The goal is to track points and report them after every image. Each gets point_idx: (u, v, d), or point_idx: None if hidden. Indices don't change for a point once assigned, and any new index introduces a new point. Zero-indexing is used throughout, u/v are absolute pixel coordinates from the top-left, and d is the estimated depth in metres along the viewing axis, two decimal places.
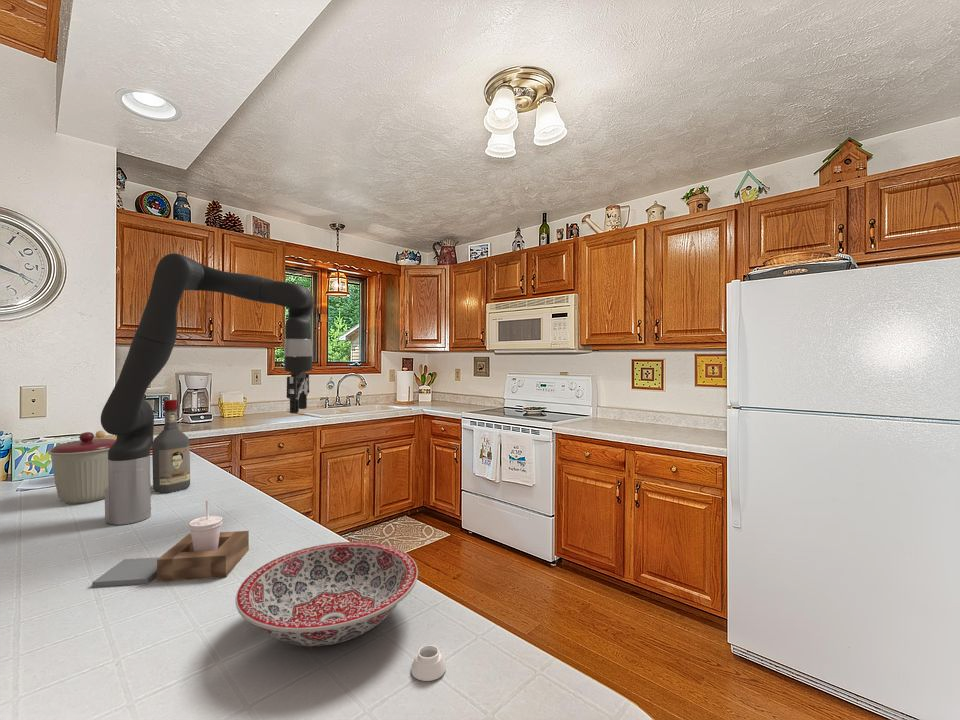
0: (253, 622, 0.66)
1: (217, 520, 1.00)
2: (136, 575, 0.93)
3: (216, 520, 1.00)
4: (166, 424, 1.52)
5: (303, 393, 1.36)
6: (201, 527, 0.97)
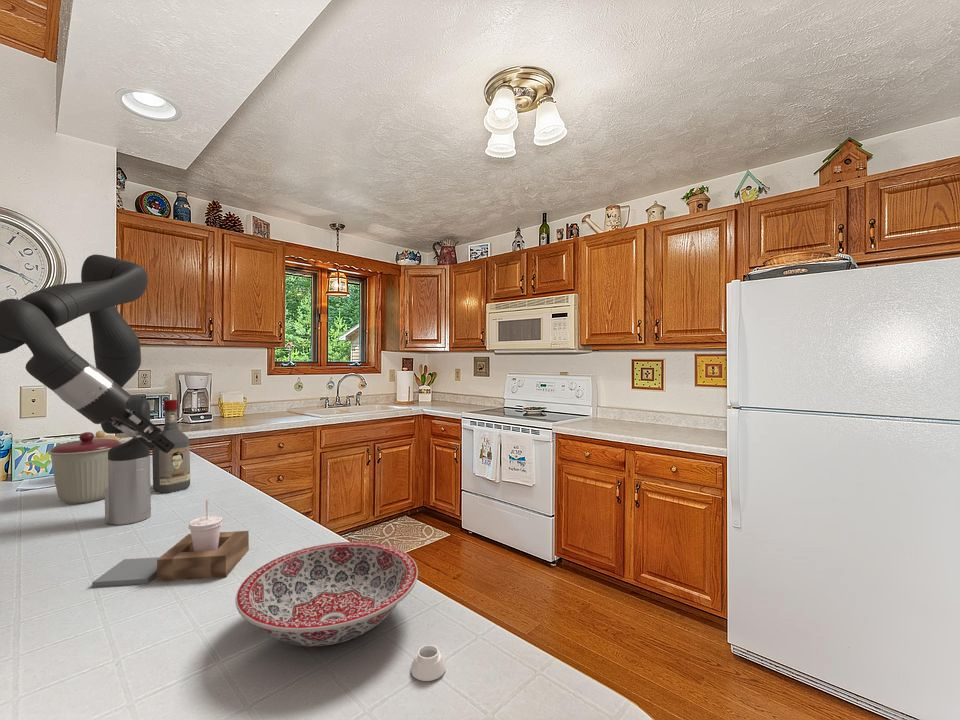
0: (253, 622, 0.66)
1: (217, 520, 1.00)
2: (136, 575, 0.93)
3: (216, 520, 1.00)
4: (166, 424, 1.52)
5: None
6: (201, 527, 0.97)
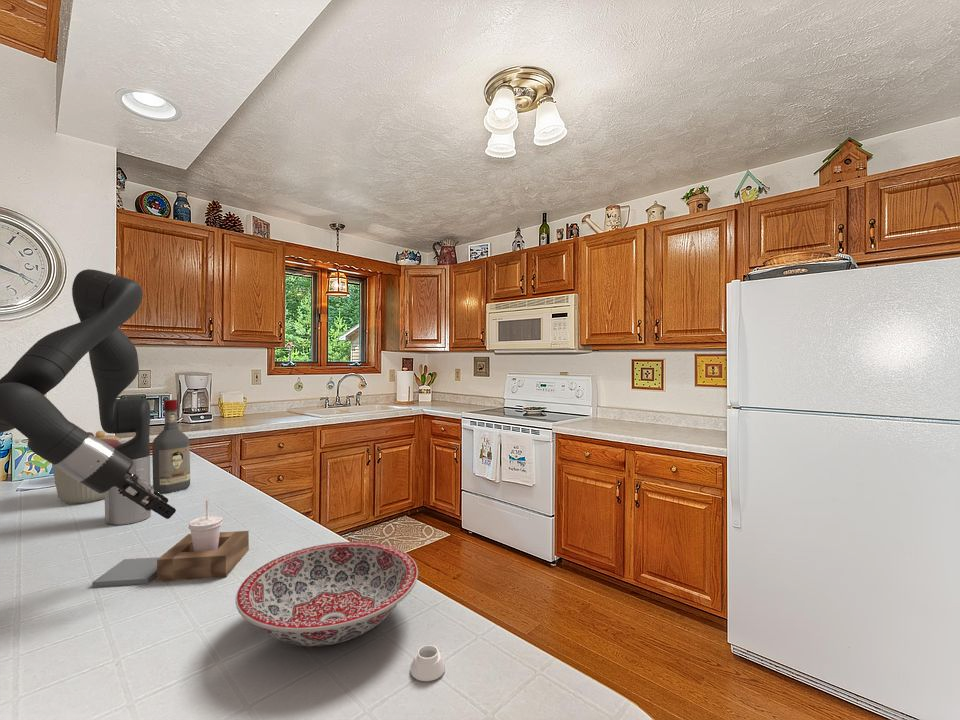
0: (253, 622, 0.66)
1: (217, 520, 1.00)
2: (136, 575, 0.93)
3: (216, 520, 1.00)
4: (166, 424, 1.52)
5: None
6: (201, 527, 0.97)
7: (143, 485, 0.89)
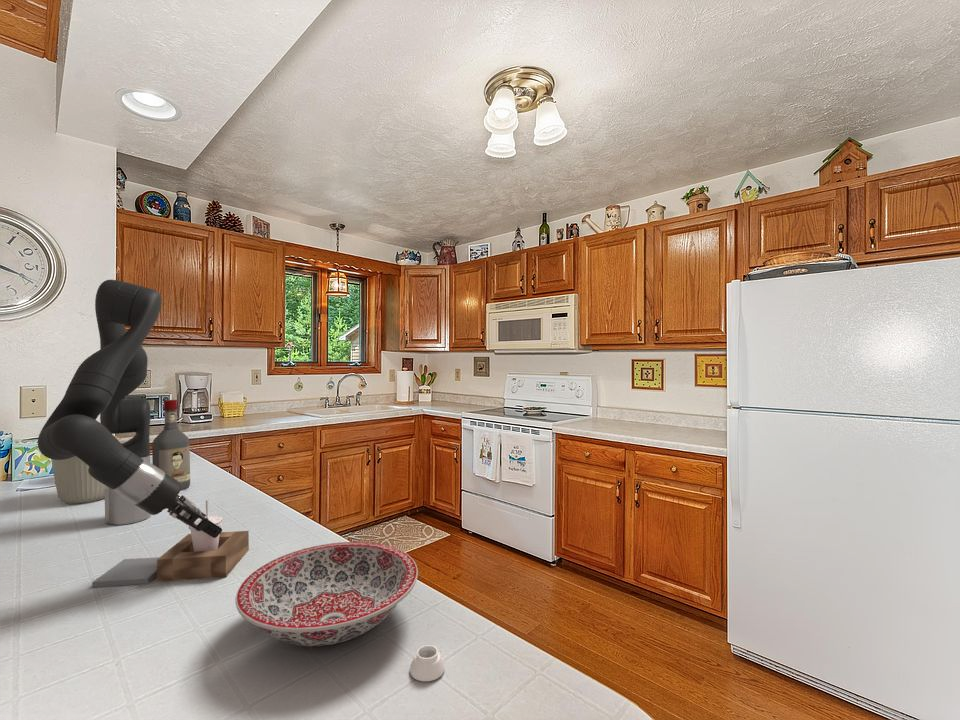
0: (253, 622, 0.66)
1: (217, 520, 1.00)
2: (136, 575, 0.93)
3: (216, 520, 1.00)
4: (166, 424, 1.52)
5: None
6: None
7: (192, 507, 0.95)
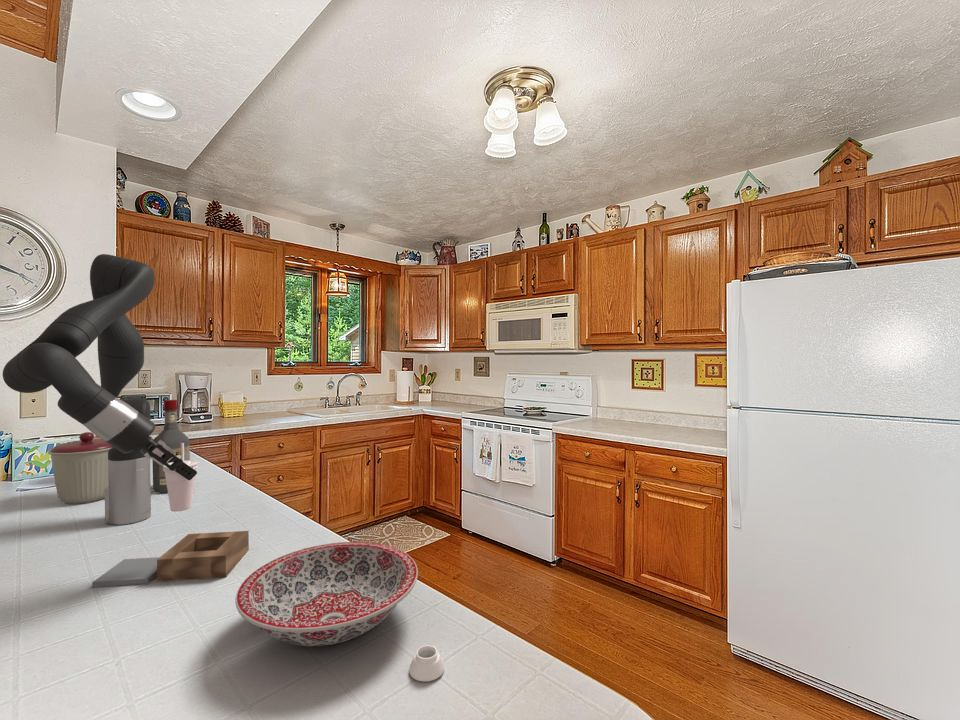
0: (253, 622, 0.66)
1: (192, 463, 0.98)
2: (136, 575, 0.93)
3: (191, 463, 0.98)
4: (166, 424, 1.52)
5: None
6: None
7: (166, 447, 0.94)
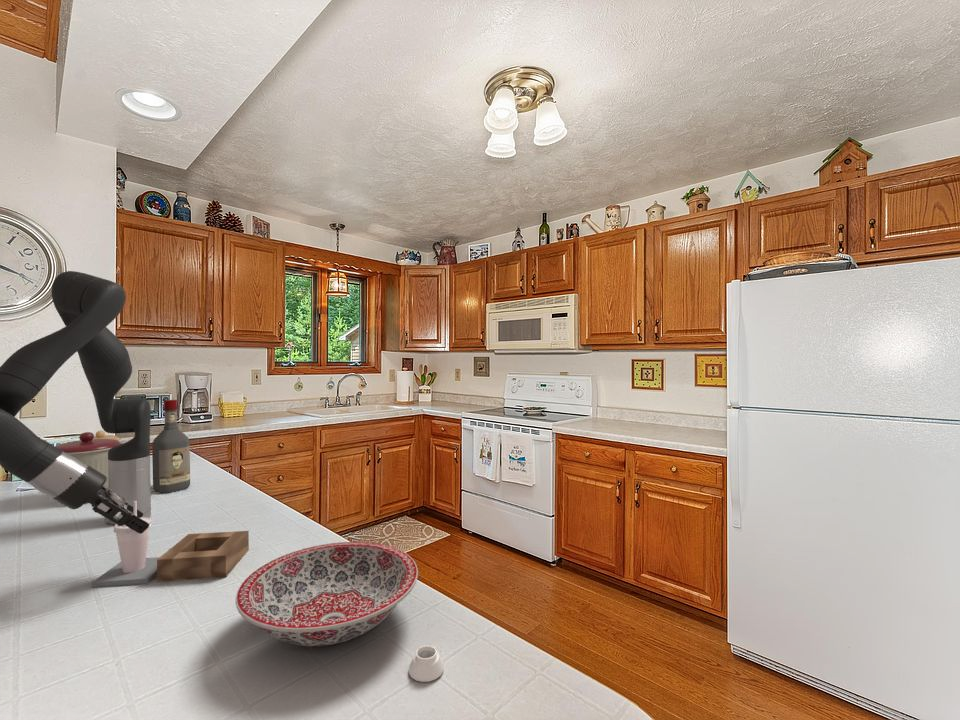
0: (253, 622, 0.66)
1: None
2: (136, 575, 0.93)
3: None
4: (166, 424, 1.52)
5: None
6: (126, 530, 0.93)
7: (116, 501, 0.91)
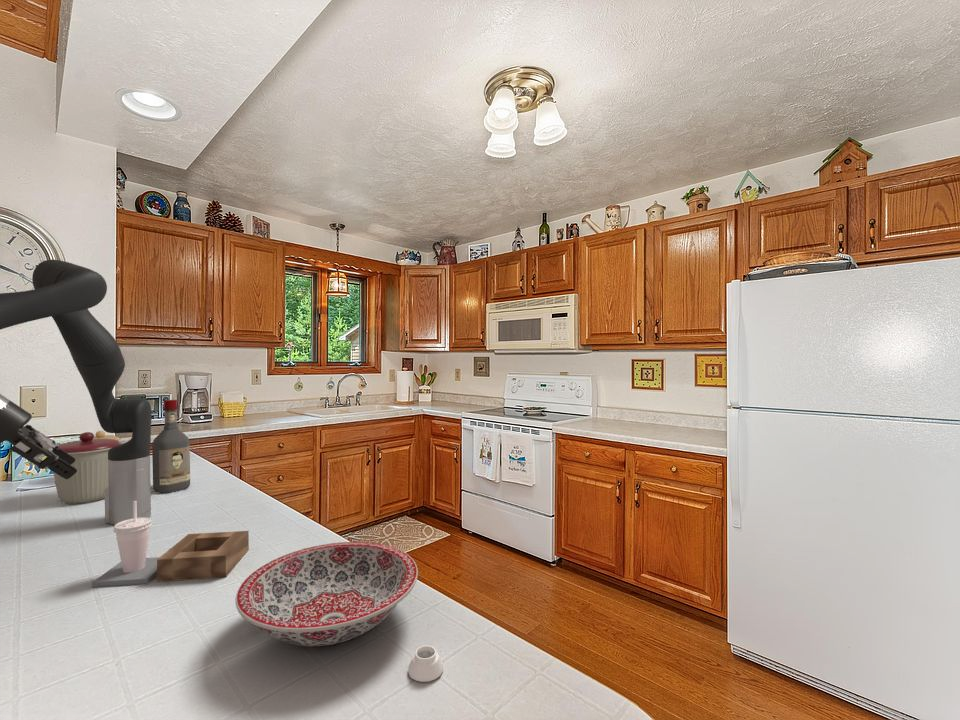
0: (253, 622, 0.66)
1: (145, 522, 0.96)
2: (136, 575, 0.93)
3: (144, 522, 0.96)
4: (166, 424, 1.52)
5: None
6: (126, 530, 0.93)
7: (40, 442, 0.84)
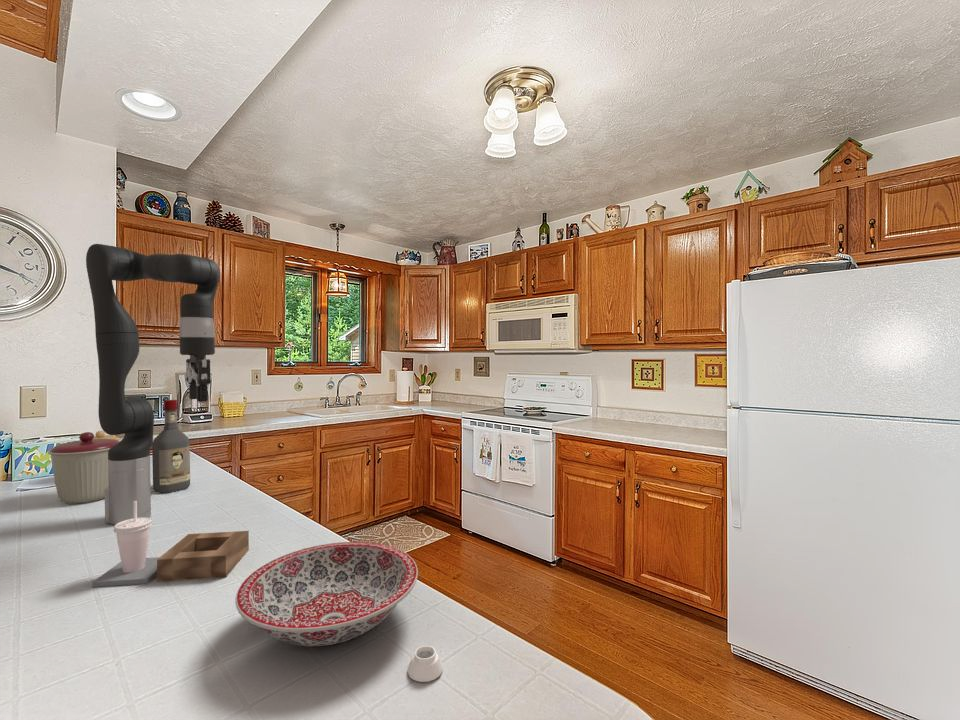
0: (253, 622, 0.66)
1: (145, 522, 0.96)
2: (136, 575, 0.93)
3: (144, 522, 0.96)
4: (166, 424, 1.52)
5: None
6: (126, 530, 0.93)
7: None
